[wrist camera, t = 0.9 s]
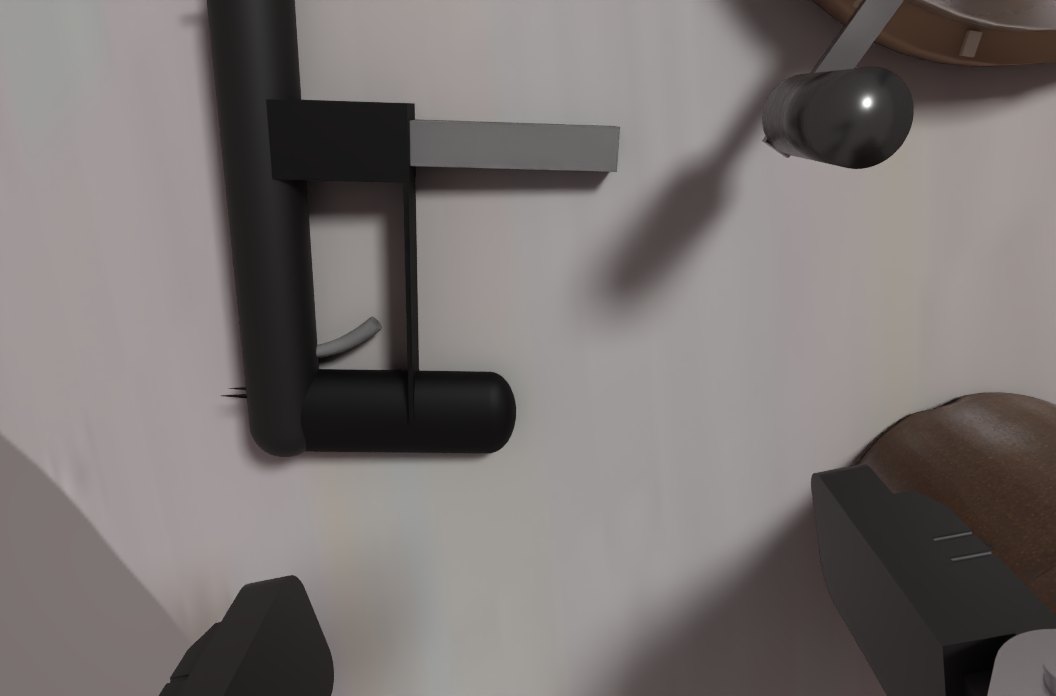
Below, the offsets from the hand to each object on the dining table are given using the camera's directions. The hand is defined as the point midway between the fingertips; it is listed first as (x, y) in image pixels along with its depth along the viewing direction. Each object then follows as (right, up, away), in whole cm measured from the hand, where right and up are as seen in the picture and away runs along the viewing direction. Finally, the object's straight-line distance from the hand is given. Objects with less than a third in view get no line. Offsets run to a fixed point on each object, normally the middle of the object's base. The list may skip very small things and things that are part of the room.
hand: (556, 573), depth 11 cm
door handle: (-5, +9, +19) cm, 22 cm away
